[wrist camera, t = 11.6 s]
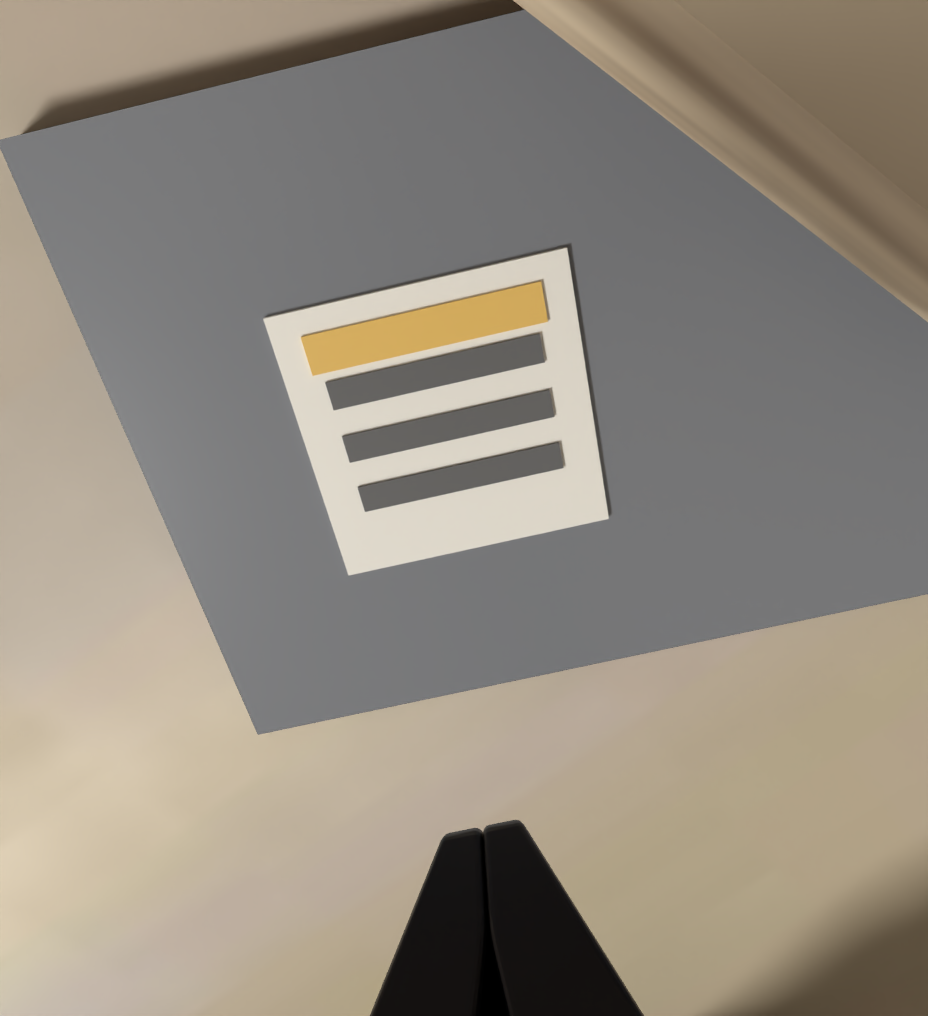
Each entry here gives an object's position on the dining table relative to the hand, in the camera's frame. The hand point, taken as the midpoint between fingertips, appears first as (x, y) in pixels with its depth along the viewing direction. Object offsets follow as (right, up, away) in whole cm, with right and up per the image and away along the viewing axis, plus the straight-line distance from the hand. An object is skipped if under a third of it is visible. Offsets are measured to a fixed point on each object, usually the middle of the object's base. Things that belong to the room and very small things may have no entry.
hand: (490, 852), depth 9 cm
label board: (+6, +7, +9) cm, 13 cm away
